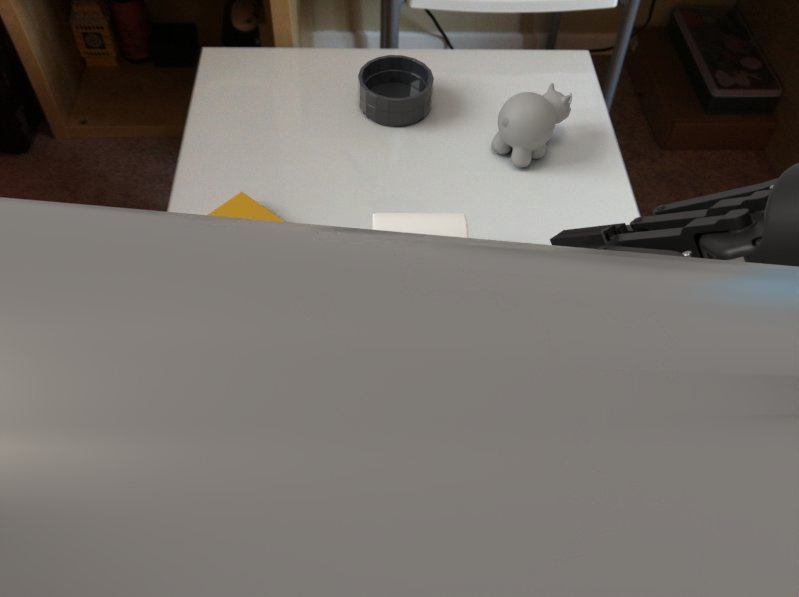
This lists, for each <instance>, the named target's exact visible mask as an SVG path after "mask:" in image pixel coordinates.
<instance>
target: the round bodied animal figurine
mask: <svg viewBox="0 0 799 597" xmlns="http://www.w3.org/2000/svg"><path fill="white" fill-rule="evenodd" d="M572 93H573V92H570V93H569V94H567V95H565V94H563V93H562V92H561V91H557V90H556V89H555V84H554V82H551V83H550V84H549V86H548V88H547V91H546V92H544V93H543V94H539V93H537V92H535V91H534V92H533V91H522V92H519V93H516V94H514V95H512V96H511V97H509V98H508V99H507V100H506V101H505V102H504V104H502V107H501V108H500V110H499V112H498V116H497V129H498V131H497V132H496V134H495V135H494V137H493V138H492V141H491V146H490V147H491V150H492V151H493V152H494V153H495V154H497V155H506V154H508V153H509V152H510V151H511V148H512V152H511V155H510V161H511V164H512V165H513V166H514V167H516V168H526V167H528V166H529V165H530V164H531V162H532V159H534V160H535V159H536V160H538V159H541V158H543V157H544V156H545V154H546V151H547V142H548V141H549V140H550V139H551V137H552V136H553V134H554V131H555V129H556V125H558V124H560V123H562V122H563V121H565V120H566V119H568V118H569V117H570V113H571V111H572V108H571V104H572V101H573V94H572Z"/></svg>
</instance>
